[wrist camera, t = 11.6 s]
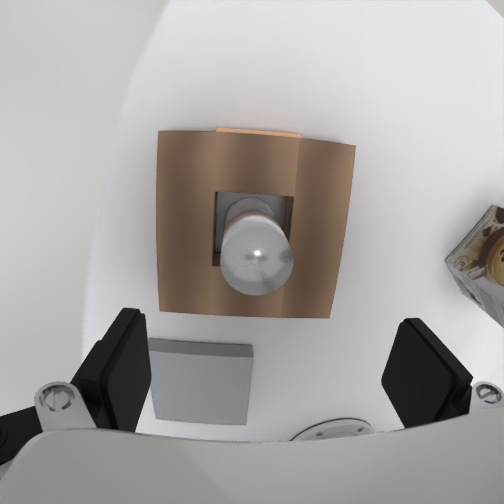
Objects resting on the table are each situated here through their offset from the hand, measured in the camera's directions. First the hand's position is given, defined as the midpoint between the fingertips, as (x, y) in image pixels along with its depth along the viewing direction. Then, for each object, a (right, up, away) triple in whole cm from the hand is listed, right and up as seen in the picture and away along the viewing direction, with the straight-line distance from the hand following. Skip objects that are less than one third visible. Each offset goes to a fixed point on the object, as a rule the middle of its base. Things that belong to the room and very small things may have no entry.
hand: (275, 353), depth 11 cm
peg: (-1, +6, +15) cm, 16 cm away
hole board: (-1, +6, +15) cm, 16 cm away
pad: (-6, -10, +20) cm, 23 cm away
